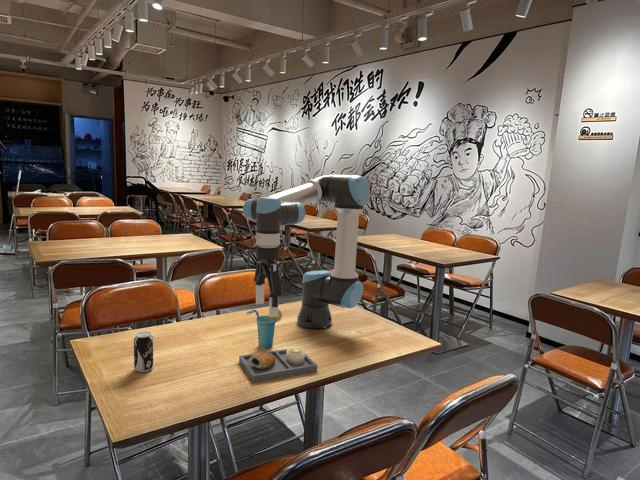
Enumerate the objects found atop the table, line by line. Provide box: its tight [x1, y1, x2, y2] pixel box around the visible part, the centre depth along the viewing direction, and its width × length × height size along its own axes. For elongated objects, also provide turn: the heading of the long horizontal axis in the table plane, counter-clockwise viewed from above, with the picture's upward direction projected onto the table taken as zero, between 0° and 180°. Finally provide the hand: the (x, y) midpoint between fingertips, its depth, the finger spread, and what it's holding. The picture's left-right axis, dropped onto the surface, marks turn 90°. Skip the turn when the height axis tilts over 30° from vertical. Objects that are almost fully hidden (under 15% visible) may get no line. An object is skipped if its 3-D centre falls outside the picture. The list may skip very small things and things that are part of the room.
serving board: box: [238, 346, 318, 383], centre depth 149 cm, size 16×22×5 cm
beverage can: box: [133, 331, 154, 373], centre depth 142 cm, size 6×6×12 cm
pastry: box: [249, 351, 276, 369], centre depth 147 cm, size 9×7×4 cm
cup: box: [246, 309, 283, 350], centre depth 164 cm, size 14×8×15 cm, turn 125°
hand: (266, 309), depth 144 cm, fingers open, 13 cm apart
